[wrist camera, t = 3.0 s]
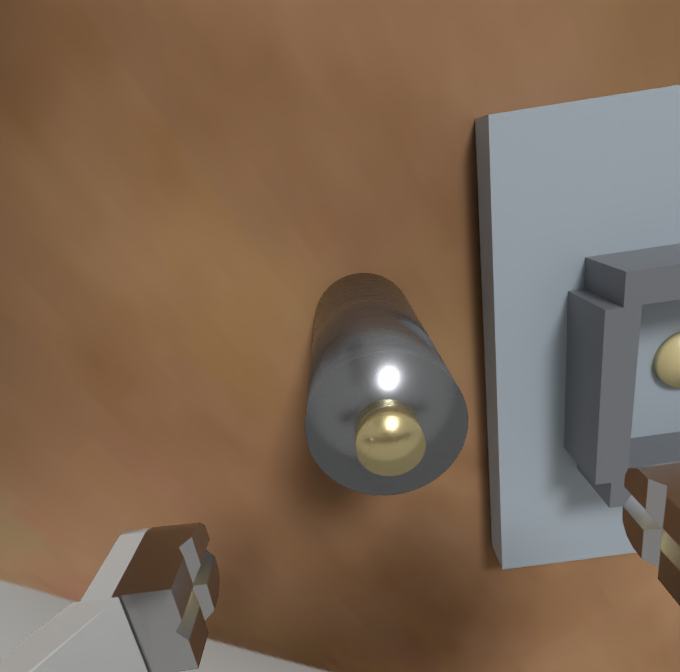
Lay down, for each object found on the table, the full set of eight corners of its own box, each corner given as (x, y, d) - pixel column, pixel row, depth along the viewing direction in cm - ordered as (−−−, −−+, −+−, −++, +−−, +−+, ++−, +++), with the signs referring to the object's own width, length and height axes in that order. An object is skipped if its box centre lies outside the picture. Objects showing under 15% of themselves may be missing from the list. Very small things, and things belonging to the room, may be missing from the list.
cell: (307, 280, 19) (288, 381, 10) (405, 266, 19) (474, 354, 10) (322, 370, 20) (318, 527, 11) (414, 357, 20) (481, 505, 11)
